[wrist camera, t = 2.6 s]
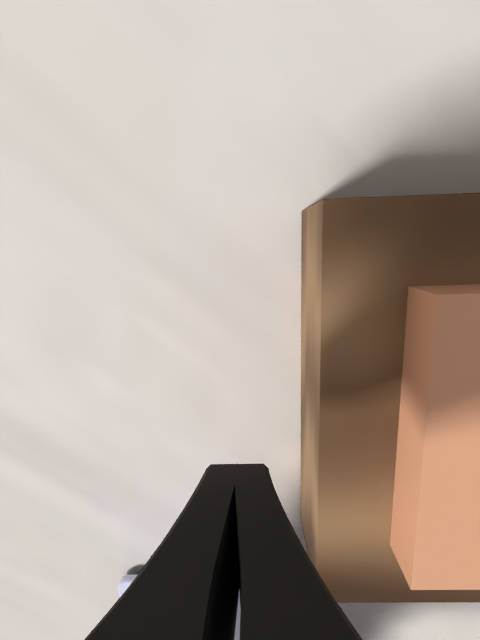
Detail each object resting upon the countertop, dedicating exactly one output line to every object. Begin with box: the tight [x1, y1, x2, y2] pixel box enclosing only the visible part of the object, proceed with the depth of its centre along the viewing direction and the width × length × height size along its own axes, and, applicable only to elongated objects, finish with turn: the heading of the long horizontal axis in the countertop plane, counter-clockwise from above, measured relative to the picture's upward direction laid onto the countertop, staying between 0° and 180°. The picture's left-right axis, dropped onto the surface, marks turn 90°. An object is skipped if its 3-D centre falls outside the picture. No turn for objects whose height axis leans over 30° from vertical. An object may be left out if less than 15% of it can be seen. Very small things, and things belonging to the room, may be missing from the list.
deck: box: [301, 193, 480, 602], centre depth 13 cm, size 14×10×4 cm
